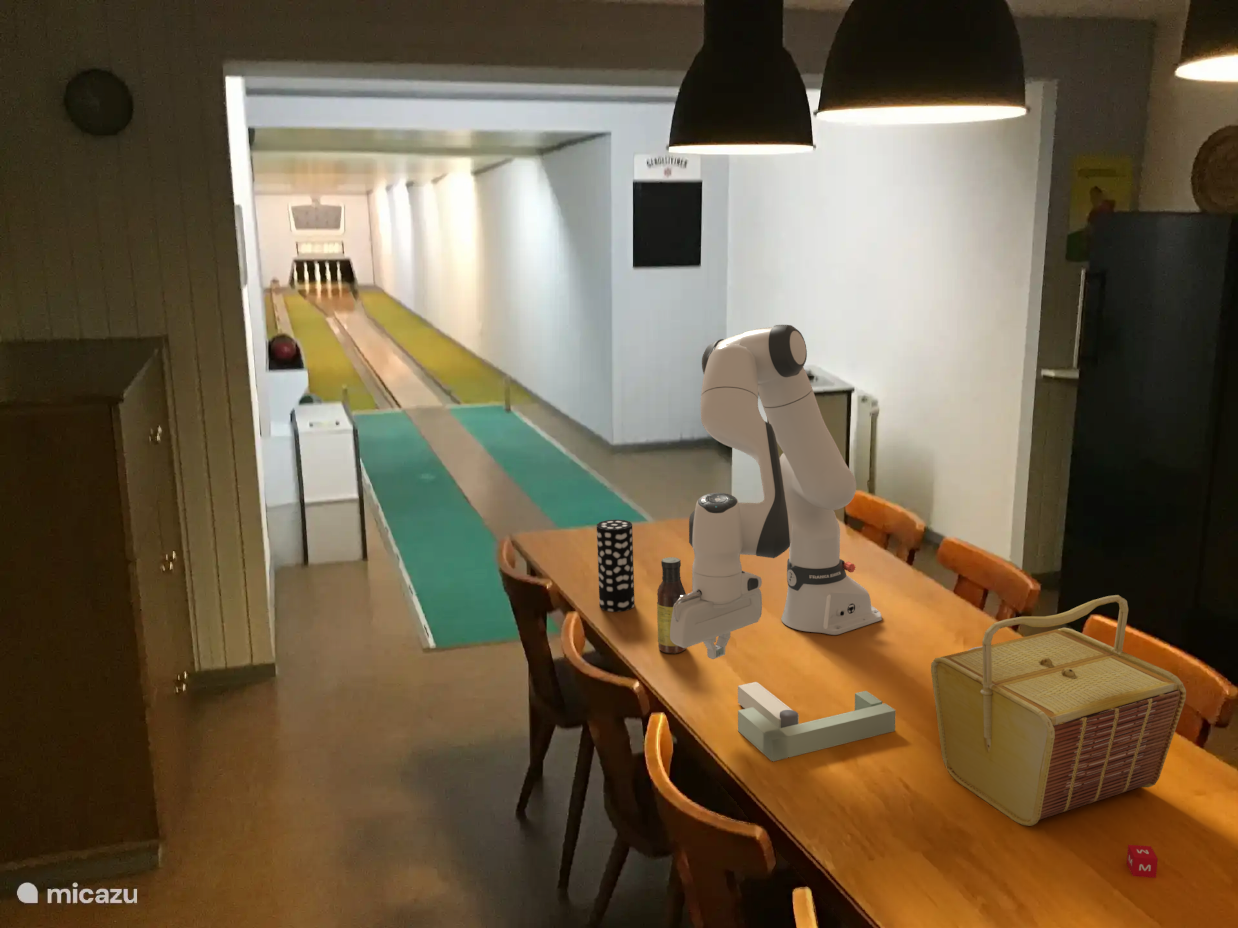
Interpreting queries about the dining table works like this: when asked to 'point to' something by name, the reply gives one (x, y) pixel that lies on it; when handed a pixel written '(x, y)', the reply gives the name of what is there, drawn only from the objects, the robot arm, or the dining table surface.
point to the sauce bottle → (668, 602)
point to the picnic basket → (1054, 717)
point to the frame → (817, 729)
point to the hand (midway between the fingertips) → (716, 656)
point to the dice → (1142, 861)
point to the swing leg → (766, 705)
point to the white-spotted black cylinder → (615, 565)
